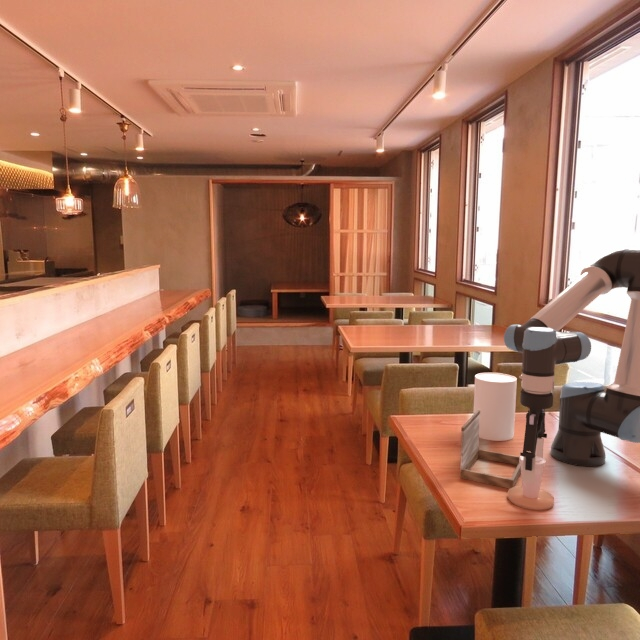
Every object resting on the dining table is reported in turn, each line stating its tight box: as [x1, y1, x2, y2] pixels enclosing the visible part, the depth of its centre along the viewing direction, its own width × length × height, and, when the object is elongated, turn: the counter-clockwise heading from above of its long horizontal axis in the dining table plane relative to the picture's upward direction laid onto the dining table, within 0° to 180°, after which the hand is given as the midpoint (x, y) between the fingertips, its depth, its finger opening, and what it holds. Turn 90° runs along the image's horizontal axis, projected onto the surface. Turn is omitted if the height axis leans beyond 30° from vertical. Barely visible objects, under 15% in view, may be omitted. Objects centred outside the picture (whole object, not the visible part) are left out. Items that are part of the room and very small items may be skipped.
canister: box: [472, 372, 518, 442], centre depth 184 cm, size 14×14×20 cm
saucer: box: [507, 485, 555, 511], centre depth 137 cm, size 11×11×1 cm
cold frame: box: [459, 410, 521, 490], centre depth 154 cm, size 16×18×15 cm
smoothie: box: [519, 445, 547, 499], centre depth 136 cm, size 6×6×14 cm
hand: (532, 471), depth 136 cm, fingers open, 13 cm apart
